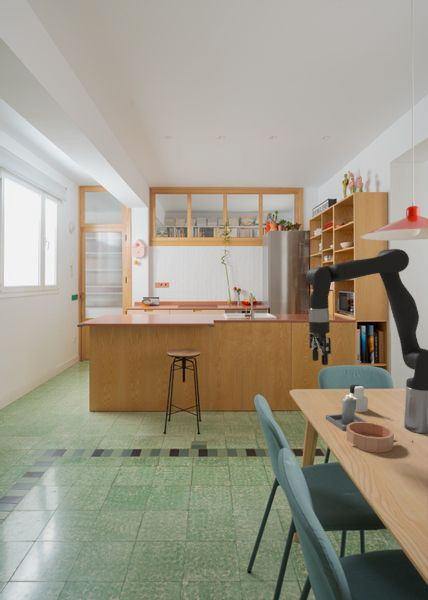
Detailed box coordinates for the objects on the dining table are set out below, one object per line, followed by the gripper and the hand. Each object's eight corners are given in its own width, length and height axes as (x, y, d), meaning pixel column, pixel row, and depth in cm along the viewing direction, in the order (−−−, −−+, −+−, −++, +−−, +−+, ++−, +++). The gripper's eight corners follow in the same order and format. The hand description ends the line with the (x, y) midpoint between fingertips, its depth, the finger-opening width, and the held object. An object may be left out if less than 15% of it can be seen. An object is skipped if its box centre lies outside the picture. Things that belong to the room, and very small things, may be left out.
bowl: (373, 432, 159) (374, 420, 158) (402, 450, 143) (403, 436, 143) (338, 436, 155) (338, 423, 154) (363, 454, 139) (363, 440, 139)
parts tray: (352, 418, 174) (352, 413, 174) (371, 430, 161) (371, 424, 161) (325, 421, 170) (325, 415, 170) (342, 432, 158) (342, 426, 158)
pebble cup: (349, 420, 169) (350, 394, 168) (356, 425, 164) (357, 397, 163) (339, 421, 168) (340, 394, 167) (345, 425, 163) (346, 398, 162)
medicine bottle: (344, 409, 186) (345, 384, 185) (356, 408, 188) (358, 383, 188) (354, 414, 179) (356, 388, 178) (367, 413, 182) (368, 387, 181)
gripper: (337, 321, 145) (337, 365, 146) (320, 318, 159) (321, 358, 160) (317, 322, 144) (318, 367, 145) (302, 319, 158) (303, 359, 159)
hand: (320, 362), depth 153 cm, fingers open, 8 cm apart
